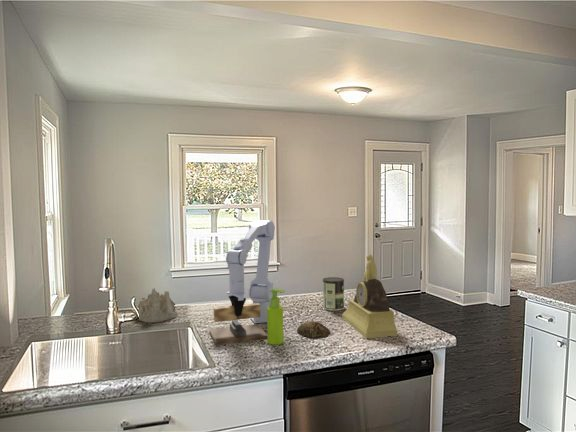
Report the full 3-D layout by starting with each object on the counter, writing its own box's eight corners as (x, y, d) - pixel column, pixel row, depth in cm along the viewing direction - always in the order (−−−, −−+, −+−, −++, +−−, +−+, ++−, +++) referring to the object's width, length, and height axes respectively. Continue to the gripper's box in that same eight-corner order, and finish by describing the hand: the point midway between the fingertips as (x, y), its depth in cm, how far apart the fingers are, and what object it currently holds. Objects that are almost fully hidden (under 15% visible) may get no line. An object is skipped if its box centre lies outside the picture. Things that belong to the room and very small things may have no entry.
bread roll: (293, 331, 175) (293, 318, 175) (320, 327, 180) (320, 315, 180) (307, 340, 164) (307, 327, 163) (336, 336, 168) (336, 323, 168)
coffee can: (343, 305, 214) (342, 276, 213) (345, 310, 203) (345, 281, 202) (322, 305, 214) (321, 277, 213) (323, 311, 203) (323, 281, 203)
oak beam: (258, 315, 174) (258, 302, 174) (260, 317, 171) (260, 304, 171) (213, 319, 168) (213, 307, 168) (215, 322, 165) (214, 309, 165)
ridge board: (257, 326, 180) (257, 316, 180) (267, 338, 166) (267, 326, 166) (209, 332, 174) (209, 321, 174) (215, 344, 160) (215, 332, 159)
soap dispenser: (280, 346, 157) (279, 292, 156) (264, 342, 161) (263, 290, 160) (288, 341, 162) (287, 288, 161) (273, 338, 166) (272, 286, 165)
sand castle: (180, 317, 196) (177, 284, 195) (144, 325, 186) (141, 291, 186) (169, 312, 208) (166, 281, 208) (134, 319, 199) (131, 287, 199)
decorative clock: (341, 318, 192) (341, 251, 190) (369, 316, 194) (368, 250, 193) (366, 338, 164) (365, 260, 163) (397, 336, 167) (397, 259, 165)
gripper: (223, 277, 174) (224, 310, 175) (230, 284, 161) (231, 320, 161) (240, 276, 177) (241, 309, 177) (248, 283, 163) (249, 318, 164)
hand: (237, 314), depth 170 cm, fingers closed on oak beam, 3 cm apart
